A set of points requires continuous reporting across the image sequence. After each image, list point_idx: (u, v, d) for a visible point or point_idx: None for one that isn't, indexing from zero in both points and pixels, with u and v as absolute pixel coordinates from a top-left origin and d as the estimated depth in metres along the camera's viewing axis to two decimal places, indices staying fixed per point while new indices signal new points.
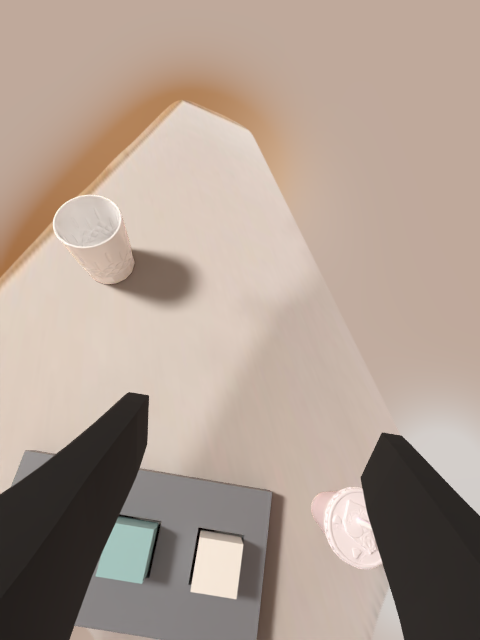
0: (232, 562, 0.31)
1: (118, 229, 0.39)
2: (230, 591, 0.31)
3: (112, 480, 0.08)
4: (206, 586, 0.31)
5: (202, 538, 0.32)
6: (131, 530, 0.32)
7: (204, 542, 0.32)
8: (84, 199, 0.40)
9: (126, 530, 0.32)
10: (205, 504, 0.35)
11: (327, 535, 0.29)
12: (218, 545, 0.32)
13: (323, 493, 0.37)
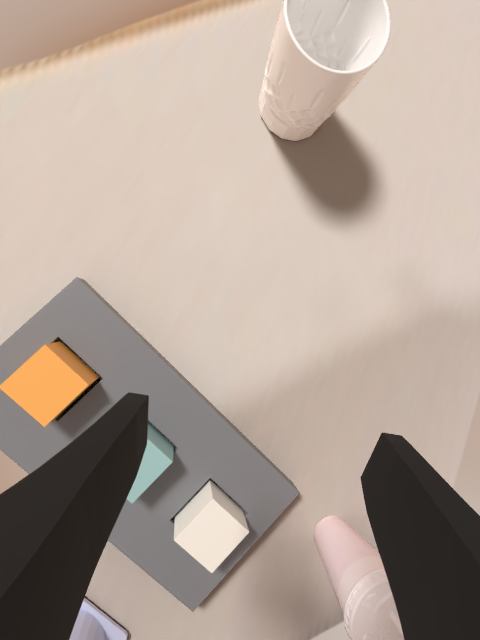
0: (228, 540, 0.27)
1: (369, 65, 0.23)
2: (210, 563, 0.27)
3: (112, 480, 0.08)
4: (191, 545, 0.26)
5: (214, 501, 0.27)
6: (149, 447, 0.26)
7: (214, 506, 0.27)
8: None
9: None
10: (229, 461, 0.29)
11: (349, 601, 0.24)
12: (225, 517, 0.27)
13: (344, 526, 0.31)
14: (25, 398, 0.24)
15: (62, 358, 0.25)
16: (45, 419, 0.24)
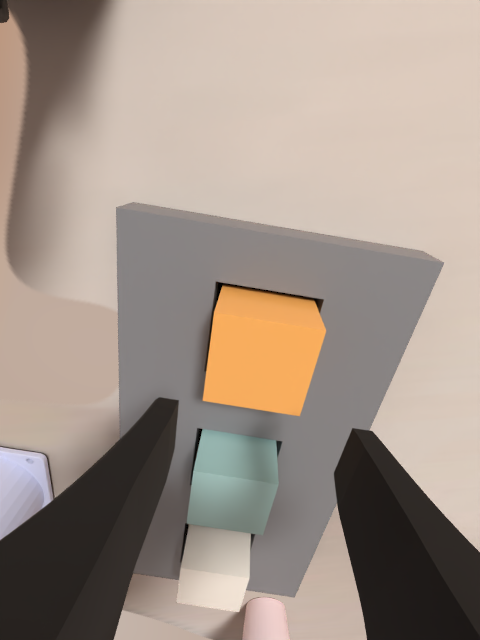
0: (217, 602, 0.22)
1: None
2: (183, 599, 0.22)
3: (149, 486, 0.08)
4: (188, 581, 0.21)
5: (247, 580, 0.21)
6: (263, 510, 0.17)
7: (242, 582, 0.21)
8: None
9: (263, 504, 0.17)
10: (285, 541, 0.23)
11: None
12: (238, 593, 0.21)
13: (287, 633, 0.28)
14: (224, 356, 0.13)
15: (314, 360, 0.13)
16: (213, 396, 0.14)
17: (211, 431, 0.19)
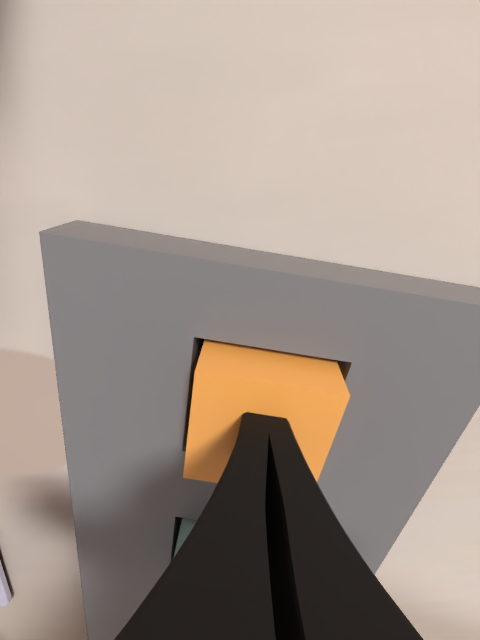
0: None
1: None
2: None
3: None
4: None
5: None
6: None
7: None
8: None
9: None
10: None
11: None
12: None
13: None
14: (209, 426, 0.10)
15: (332, 430, 0.10)
16: (197, 472, 0.11)
17: None
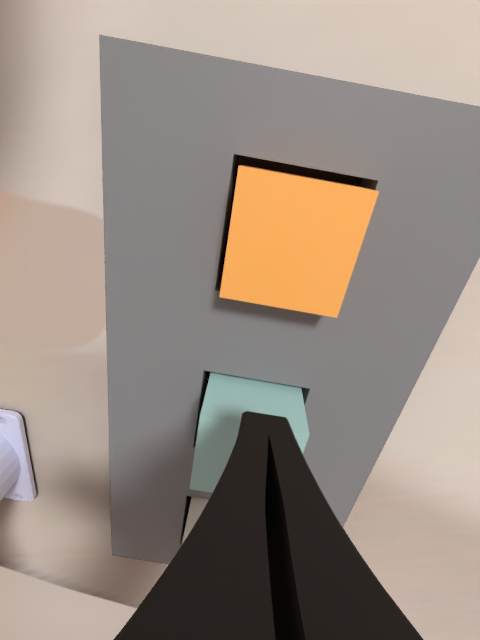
0: None
1: None
2: None
3: None
4: None
5: None
6: None
7: None
8: None
9: None
10: None
11: None
12: None
13: None
14: (248, 232, 0.11)
15: (359, 240, 0.11)
16: (233, 290, 0.12)
17: (221, 376, 0.15)
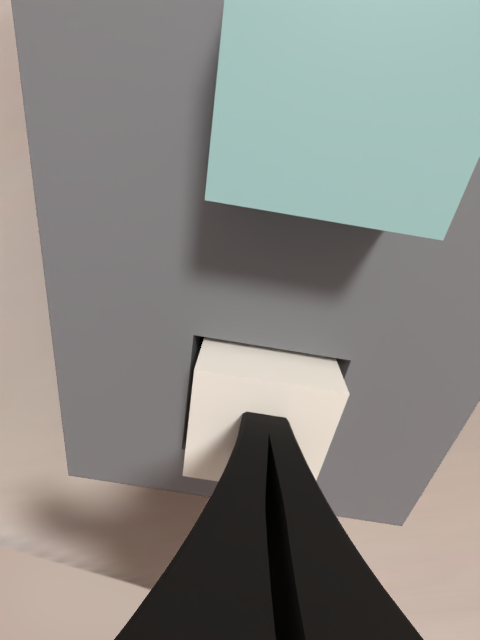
0: None
1: None
2: (199, 465, 0.11)
3: None
4: (209, 411, 0.10)
5: (343, 401, 0.09)
6: (478, 96, 0.05)
7: (331, 407, 0.09)
8: None
9: None
10: (415, 379, 0.10)
11: None
12: (316, 442, 0.10)
13: None
14: None
15: None
16: None
17: None
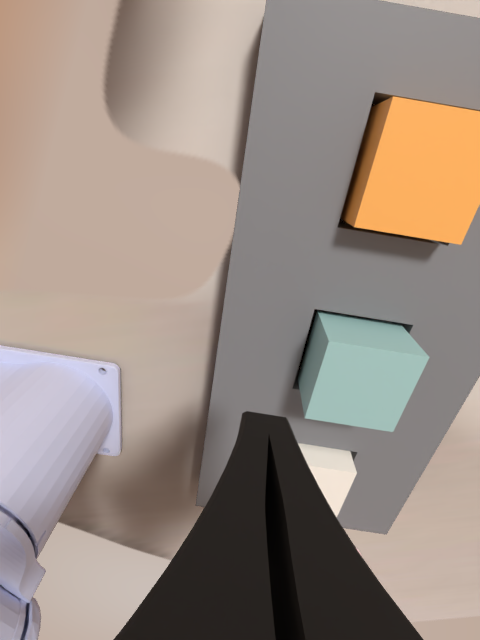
0: None
1: None
2: None
3: None
4: None
5: (354, 475, 0.19)
6: (401, 396, 0.15)
7: (348, 478, 0.19)
8: None
9: (403, 388, 0.15)
10: (390, 460, 0.20)
11: None
12: (340, 493, 0.20)
13: None
14: (391, 161, 0.12)
15: None
16: (368, 219, 0.13)
17: (329, 315, 0.16)
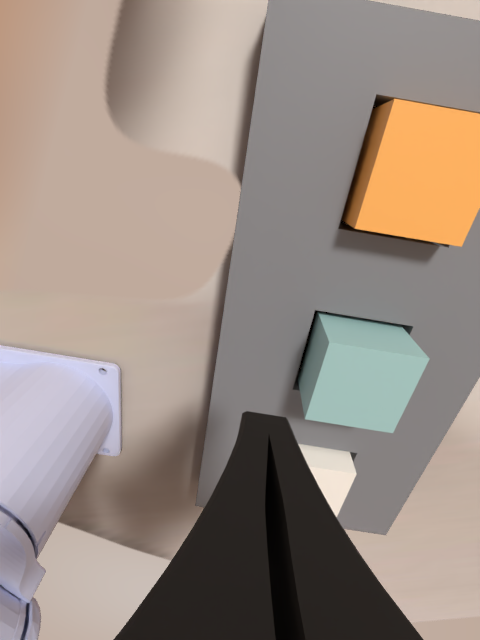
0: None
1: None
2: None
3: None
4: None
5: (353, 476, 0.19)
6: (401, 397, 0.15)
7: (347, 479, 0.19)
8: None
9: (404, 389, 0.15)
10: (389, 462, 0.20)
11: None
12: (340, 494, 0.20)
13: None
14: (392, 163, 0.12)
15: None
16: (368, 221, 0.13)
17: (329, 316, 0.16)
